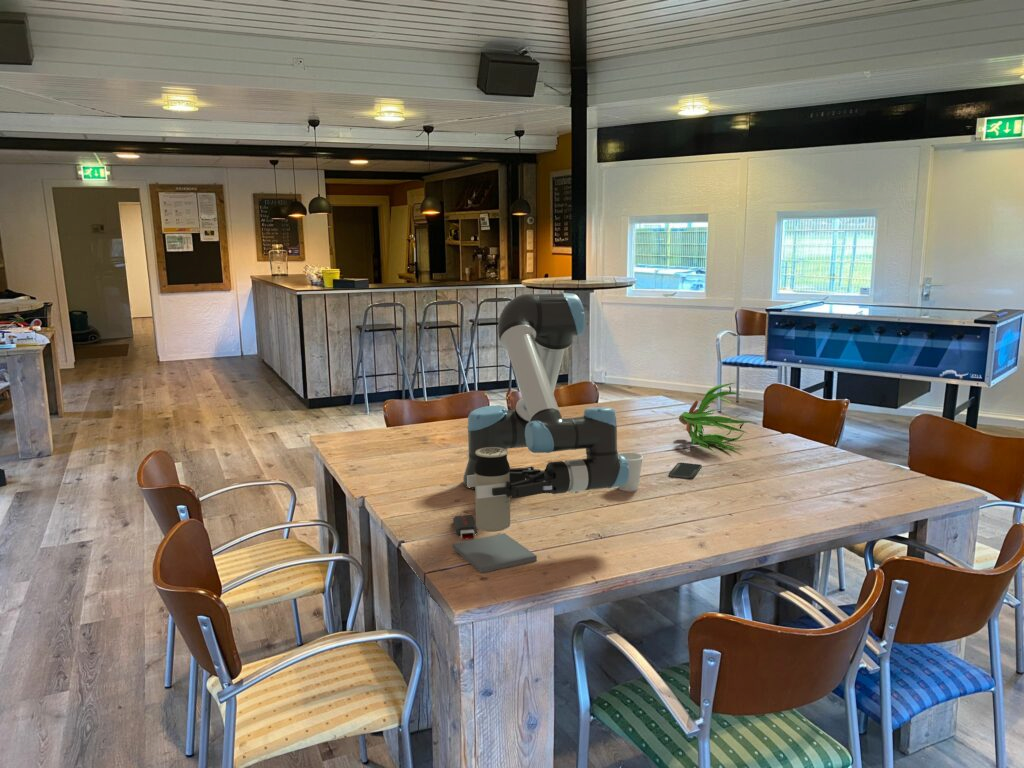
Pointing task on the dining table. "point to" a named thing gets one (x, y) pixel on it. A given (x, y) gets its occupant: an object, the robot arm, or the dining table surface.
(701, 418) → the decorative plant
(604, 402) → the dining table surface
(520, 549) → the charcoal mat
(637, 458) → the dixie cup
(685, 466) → the phone
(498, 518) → the travel mug
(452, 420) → the dining table surface
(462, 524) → the usb drive
